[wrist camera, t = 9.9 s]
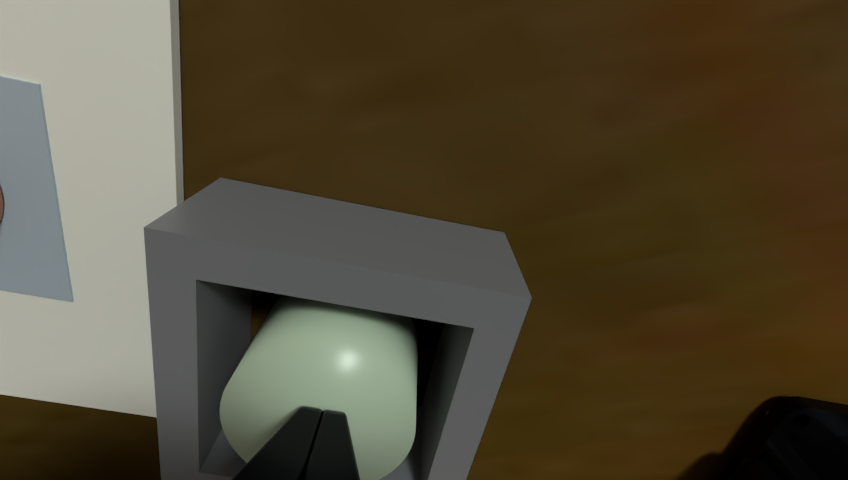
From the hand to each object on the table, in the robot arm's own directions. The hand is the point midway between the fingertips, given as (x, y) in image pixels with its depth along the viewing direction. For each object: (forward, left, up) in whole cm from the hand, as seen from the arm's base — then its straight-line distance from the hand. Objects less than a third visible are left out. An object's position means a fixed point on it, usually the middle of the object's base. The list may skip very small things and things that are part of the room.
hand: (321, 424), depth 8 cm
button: (0, 0, -2) cm, 2 cm away
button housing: (0, 0, -3) cm, 3 cm away
